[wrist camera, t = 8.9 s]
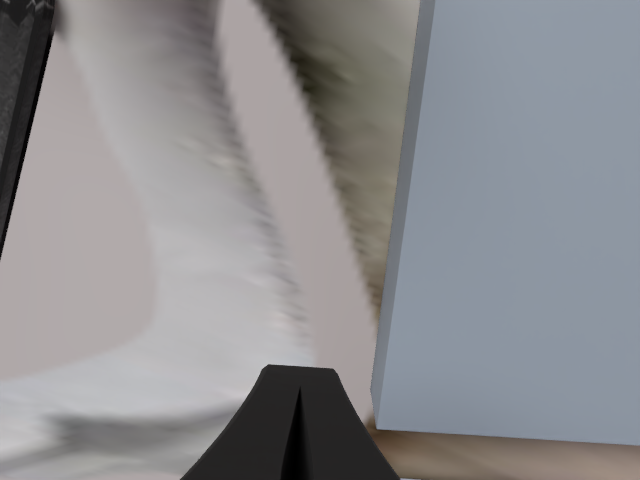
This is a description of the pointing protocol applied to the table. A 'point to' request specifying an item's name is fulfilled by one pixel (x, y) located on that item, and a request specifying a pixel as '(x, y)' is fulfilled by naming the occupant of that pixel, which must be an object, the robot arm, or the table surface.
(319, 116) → the table surface
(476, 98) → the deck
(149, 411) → the table surface
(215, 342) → the table surface
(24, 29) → the phone
